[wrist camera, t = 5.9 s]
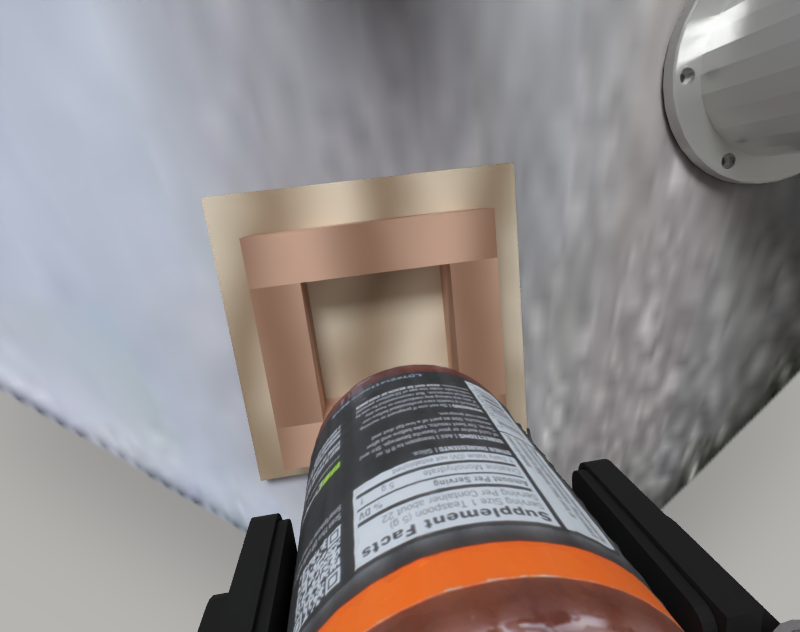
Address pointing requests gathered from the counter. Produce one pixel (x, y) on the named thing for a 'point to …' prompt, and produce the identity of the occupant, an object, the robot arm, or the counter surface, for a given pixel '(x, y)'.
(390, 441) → the supplement bottle
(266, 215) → the socket board
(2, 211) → the counter surface
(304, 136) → the counter surface
